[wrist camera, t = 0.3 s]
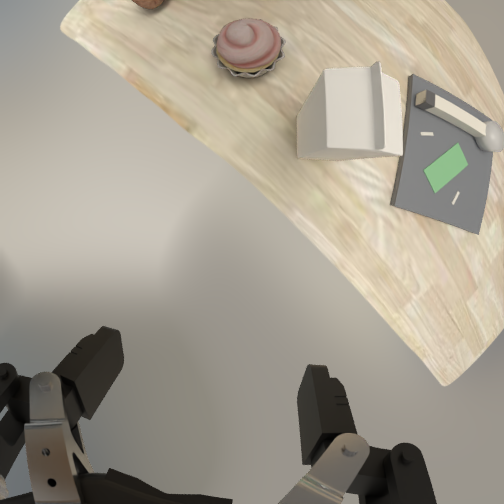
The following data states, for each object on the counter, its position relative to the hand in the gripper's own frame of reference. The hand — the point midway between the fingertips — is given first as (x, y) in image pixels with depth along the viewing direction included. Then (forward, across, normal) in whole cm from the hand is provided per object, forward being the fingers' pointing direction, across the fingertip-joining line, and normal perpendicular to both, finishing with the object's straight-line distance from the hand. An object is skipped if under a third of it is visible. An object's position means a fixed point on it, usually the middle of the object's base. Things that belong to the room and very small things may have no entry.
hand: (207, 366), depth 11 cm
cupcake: (+29, +3, -24) cm, 38 cm away
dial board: (+29, -30, -16) cm, 45 cm away
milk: (+29, -8, -13) cm, 33 cm away
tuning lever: (+27, -30, -22) cm, 46 cm away
